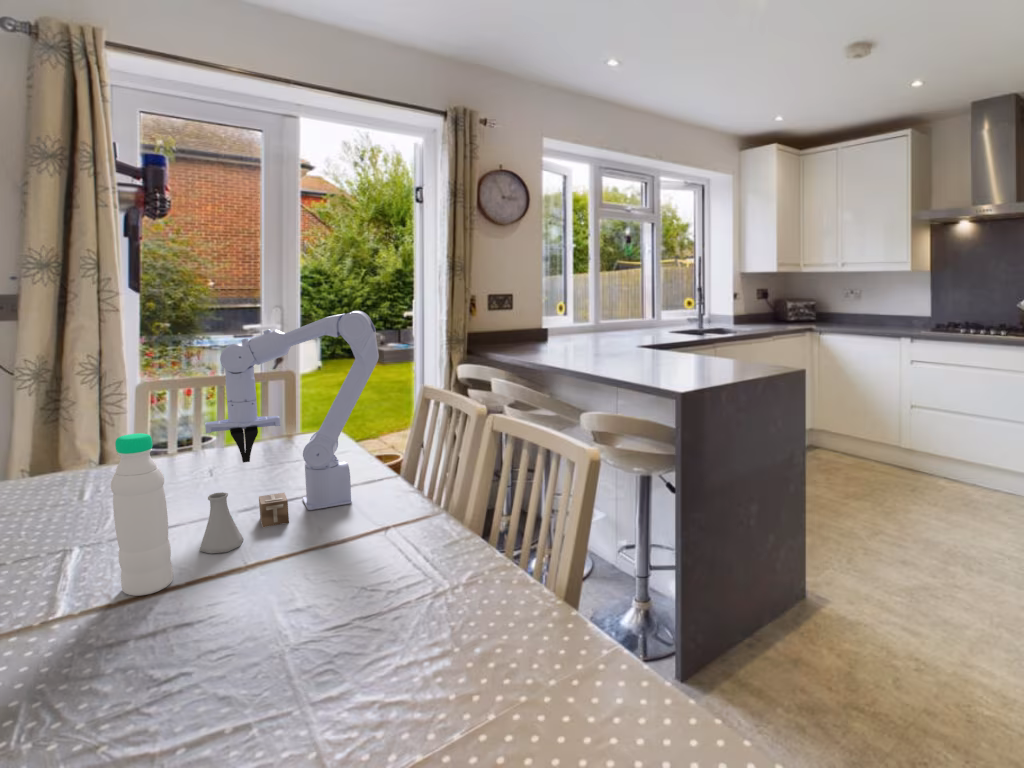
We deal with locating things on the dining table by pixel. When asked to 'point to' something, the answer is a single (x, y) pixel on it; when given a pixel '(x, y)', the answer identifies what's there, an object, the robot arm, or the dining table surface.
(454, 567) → the dining table surface
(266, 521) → the lettered block
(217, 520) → the flask
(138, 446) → the water bottle
